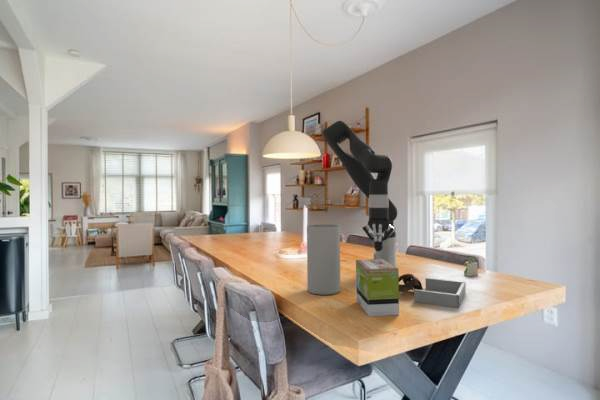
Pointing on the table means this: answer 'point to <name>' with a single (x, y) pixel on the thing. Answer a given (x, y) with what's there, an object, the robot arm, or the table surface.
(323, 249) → the cylinder vase
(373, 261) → the tea box
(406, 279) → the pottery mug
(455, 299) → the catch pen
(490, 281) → the table surface
